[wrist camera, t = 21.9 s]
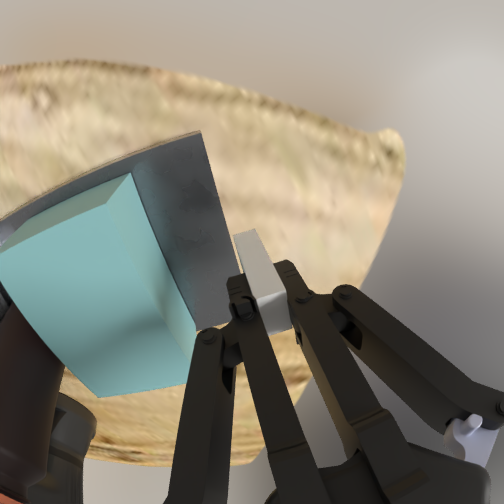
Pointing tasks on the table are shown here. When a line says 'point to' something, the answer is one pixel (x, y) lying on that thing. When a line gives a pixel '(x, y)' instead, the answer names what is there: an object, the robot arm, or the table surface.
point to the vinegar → (25, 405)
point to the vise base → (164, 220)
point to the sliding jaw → (101, 291)
